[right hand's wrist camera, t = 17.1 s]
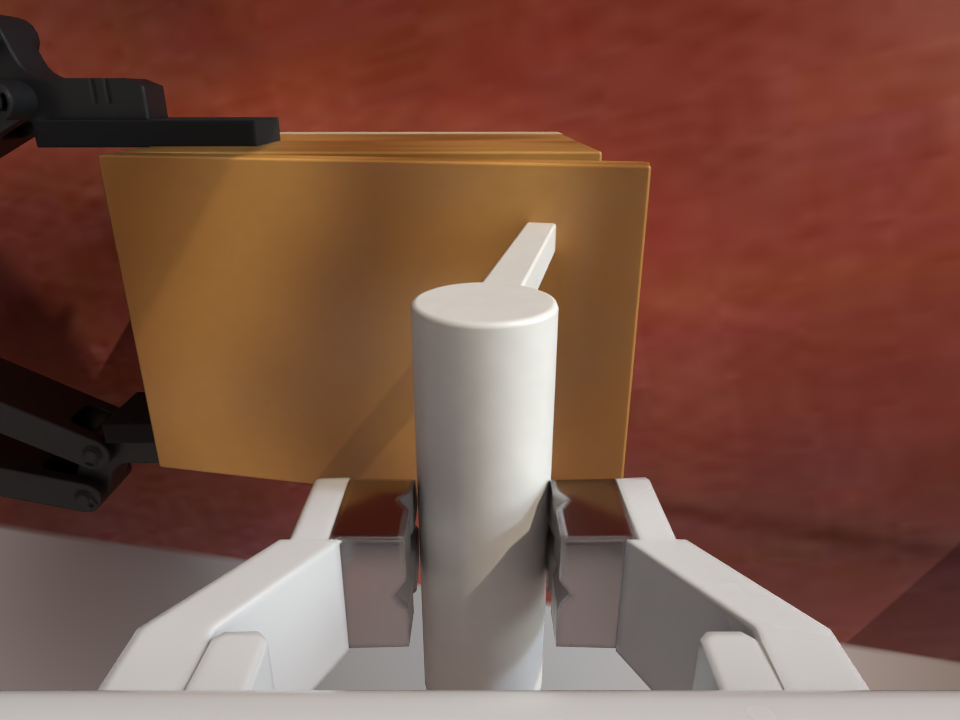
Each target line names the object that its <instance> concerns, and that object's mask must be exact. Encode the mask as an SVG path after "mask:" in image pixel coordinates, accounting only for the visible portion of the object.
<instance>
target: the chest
mask: <svg viewBox="0 0 960 720" xmlns="http://www.w3.org/2000/svg"><path fill="white" fill-rule="evenodd" d="M280 140H281V141H277V142H273V143H269V144H264V145H260V146H152V147H146V148H140V149H134V150H128V151H122V152H134V153H189V154H245V155H301V156H356V157H412V158H467V159H523V160H578V161H601V158H602V153H601V152H600V151H598V150H595V149H593V148H591V147H589V146H586V145H584V144H582V143H580V142H577V141H575V140H573V139H571V138H568V137H566V136H564V135H562V133H560V132H280Z"/></svg>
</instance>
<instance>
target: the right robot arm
mask: <svg viewBox="0 0 960 720" xmlns="http://www.w3.org/2000/svg"><path fill="white" fill-rule="evenodd" d="M417 505H418V502H417V486H416V480H415V479H372V478H352V479H350V478H319V479H317V480H316V481H315V482H314V484H313V486H312V488H311V490H310V493H309V495H308V497H307V500H306V502H305V504H304V507H303V509H302V511H301V514H300V516H299V518H298V520H297V523H296V525H295V527H294V530H293V532H292V534H291V537H290V539H289V540H278V541H277V542H275V543H273V544H272V545H270V546H269V547H267V548H265V549H264V550H262V551H261V552H259V553H257V554H256V555H254V556H253V557H251V558H249V559H248V560H246V561H245V562H243V563H241V564H240V565H238V566H237V567H235V568H233V569H232V570H230V571H229V572H227V573H225V574H224V575H222V576H221V577H219V578H218V579H216V580H214V581H213V582H211V583H209V584H208V585H206V586H205V587H203V588H202V589H200V590H198V591H197V592H195V593H194V594H192V595H190V596H189V597H187V598H186V599H184V600H182V601H181V602H179V603H178V604H176V605H174V606H173V607H171V608H170V609H168V610H166V611H165V612H163V613H162V614H160V615H158V616H157V617H155V618H154V619H152V620H150V621H149V622H147V623H146V624H144V625H142V626H141V627H139V628H138V629H137V630H136V631H135V633H134V635H133V636H132V638H131V639H130V641H129V642H128V644H127V645H126V647H125V648H124V650H123V651H122V653H121V655H120V656H119V658H118V659H117V661H116V662H115V664H114V665H113V667H112V669H111V670H110V672H109V673H108V675H107V676H106V678H105V679H104V681H103V682H102V684H101V685H100V687H99V689H98V690H0V720H960V690H870V689H869V688H868V686H867V685H866V683H865V682H864V680H863V679H862V677H861V675H860V674H859V672H858V671H857V669H856V668H855V666H854V665H853V663H852V662H851V660H850V659H849V657H848V656H847V654H846V653H845V651H844V650H843V648H842V646H841V645H840V643H839V642H838V640H837V639H836V637H835V636H834V634H833V633H832V631H831V630H830V629H829V628H827V627H825V626H824V625H822V624H821V623H819V622H817V621H816V620H814V619H813V618H811V617H809V616H808V615H806V614H804V613H803V612H801V611H800V610H798V609H796V608H795V607H793V606H792V605H790V604H788V603H787V602H785V601H784V600H782V599H780V598H779V597H777V596H776V595H774V594H772V593H771V592H769V591H768V590H766V589H764V588H763V587H761V586H760V585H758V584H756V583H755V582H753V581H751V580H750V579H748V578H747V577H745V576H743V575H742V574H740V573H739V572H737V571H735V570H734V569H732V568H731V567H729V566H727V565H726V564H724V563H723V562H721V561H719V560H718V559H716V558H715V557H713V556H711V555H710V554H708V553H707V552H705V551H703V550H702V549H700V548H698V547H697V546H695V545H694V544H692V543H690V542H689V541H687V540H676V538H675V536H674V534H673V531H672V529H671V527H670V525H669V523H668V520H667V518H666V516H665V514H664V511H663V509H662V507H661V505H660V503H659V500H658V498H657V496H656V494H655V492H654V489H653V487H652V485H651V483H650V481H649V480H648V479H647V478H645V477H642V478H617V479H575V480H550V483H549V504H548V516H549V522H550V525H549V530H548V535H547V551H546V577H547V585H548V591H549V592H550V593H551V594H552V602H551V615H552V621H553V628H554V635H555V642H556V646H561V647H597V648H616V651H617V652H618V654H619V655H620V656H621V657H622V658H623V659H624V660H625V661H626V662H627V664H628V665H629V666H630V667H631V668H632V669H633V670H634V671H635V672H636V673H637V675H638V676H639V677H640V678H641V679H642V680H643V681H644V682H645V683H646V684H647V686H648V687H649V688H650V689H651V690H315V689H316V687H317V686H318V685H319V684H320V683H321V682H322V681H323V680H324V679H325V677H326V676H327V675H328V674H329V673H330V672H331V671H332V670H333V669H334V668H335V666H336V665H337V664H338V663H339V662H340V661H341V660H342V659H343V658H344V656H345V655H346V654H347V653H348V652H349V648H367V647H402V646H409V642H410V635H411V628H412V620H413V613H414V610H413V593H414V592H415V591H416V589H417V581H418V567H419V529H418V528H417V526H416V525H415V520H416V512H417Z"/></svg>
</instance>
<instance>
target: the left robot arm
mask: <svg viewBox="0 0 960 720" xmlns="http://www.w3.org/2000/svg"><path fill="white" fill-rule="evenodd" d="M39 45H40V41H39V37H38V33H37V32H36V30H35V29H34V27H33V26H32V25H31V24H29V23H28V22H27V21H26V20H23V19H20V18H16V17H10V16H4V15H0V158H1V157H3V156H5V155H6V154H8V153H9V152H11V151H13V150H14V149H16V148H17V147H19V146H21V145H22V144H24V143H25V142H27V141H29V140H30V139H32V138H33V137H35V138H36V142H37V146H38V147H152V146H260V145H264V144H269V143H273V142H277V141H281V140H280V131H279V121H278V117H175V118H168V115H167V109H166V102H165V96H164V90H163V86H161V85H159V84H156V83H154V82H151V81H149V80H146V79H128V78H63V77H60V76H58V75H57V74H55V73H54V72H53V71H52V70H51V69H50V68H49V67H48V66H47V65H46V63H45V62H44V60H43V58H42V57H41V55H40V53H39V51H38V50H39ZM131 463H159V460H158V455H157V450H156V445H155V440H154V435H153V430H152V425H151V420H150V415H149V410H148V405H147V400H146V395H145V392H137V393H136V394H135V395H134V396H132V397H131V398H130V399H129V400H128V401H127V402H126V403H125V404H124V405H122V406H121V407H120V408H118V407H116V406H114V405H111V404H109V403H107V402H104V401H102V400H99V399H97V398H95V397H92V396H90V395H88V394H85V393H83V392H80V391H78V390H76V389H73V388H71V387H68V386H66V385H64V384H61V383H59V382H57V381H54V380H52V379H49V378H47V377H45V376H42V375H40V374H38V373H35V372H33V371H30V370H28V369H26V368H23V367H21V366H19V365H16V364H14V363H11V362H9V361H7V360H4V359H2V358H0V496H3V497H9V498H14V499H19V500H24V501H30V502H35V503H40V504H46V505H51V506H56V507H61V508H67V509H72V510H77V511H82V512H92V511H95V510H96V509H98V508H99V507H100V506H101V504H102V503H103V502H104V501H105V500H106V499H107V498H108V497H109V496H110V494H111V493H112V492H113V491H114V490H115V489H116V488H117V487H118V485H119V484H120V483H121V482H122V481H123V480H124V479H125V478H126V477H127V475H128V474H129V473H130V472H131V468H132V466H131Z"/></svg>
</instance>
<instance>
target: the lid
mask: <svg viewBox="0 0 960 720" xmlns="http://www.w3.org/2000/svg"><path fill="white" fill-rule="evenodd" d="M98 161H99V166H100V171H101V176H102V181H103V186H104V191H105V196H106V201H107V206H108V211H109V216H110V221H111V226H112V231H113V236H114V241H115V246H116V251H117V256H118V261H119V266H120V271H121V276H122V281H123V286H124V290H125V295H126V300H127V305H128V310H129V315H130V320H131V325H132V330H133V335H134V340H135V345H136V350H137V355H138V360H139V365H140V370H141V375H142V380H143V385H144V390H145V395H146V400H147V405H148V410H149V415H150V420H151V425H152V430H153V435H154V440H155V445H156V450H157V455H158V460H159V465H160V466H161V467H166V468H175V469H184V470H192V471H201V472H210V473H219V474H228V475H237V476H245V477H254V478H263V479H272V480H281V481H289V482H298V483H307V484H314V482H315V481H316V480H317V479H319V478H350V479H352V478H372V479H415V480H416V486H417V496H418V516H419V541H420V566H421V591H422V616H423V641H424V666H425V684H426V689H427V690H540V689H541V684H542V666H543V643H544V621H545V599H546V551H547V535H548V530H549V516H548V504H549V483H550V480H575V479H617V478H623V474H624V462H625V451H626V440H627V429H628V418H629V407H630V396H631V385H632V374H633V363H634V352H635V341H636V330H637V319H638V308H639V297H640V286H641V275H642V264H643V253H644V242H645V231H646V219H647V208H648V197H649V186H650V175H651V167H650V164H649V163H648V162H634V161H578V160H523V159H467V158H412V157H356V156H301V155H245V154H189V153H134V152H118V153H110V154H101V155H99V156H98Z"/></svg>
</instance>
